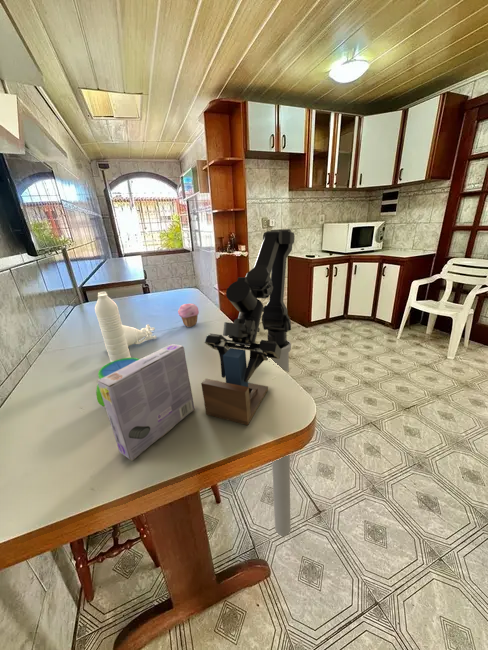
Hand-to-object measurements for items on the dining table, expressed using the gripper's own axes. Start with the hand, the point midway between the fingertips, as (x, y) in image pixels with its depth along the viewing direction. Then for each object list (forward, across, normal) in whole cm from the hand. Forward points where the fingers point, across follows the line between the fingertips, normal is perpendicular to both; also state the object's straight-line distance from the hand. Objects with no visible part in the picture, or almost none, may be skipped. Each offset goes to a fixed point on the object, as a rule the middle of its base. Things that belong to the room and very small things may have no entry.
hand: (233, 379), depth 64 cm
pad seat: (+4, 0, +6) cm, 8 cm away
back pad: (+4, 0, +6) cm, 7 cm away
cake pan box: (+14, -13, -4) cm, 20 cm away
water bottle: (+1, -46, +10) cm, 47 cm away
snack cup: (+11, -28, 0) cm, 30 cm away
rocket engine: (-8, -53, +18) cm, 56 cm away
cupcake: (-24, -43, +35) cm, 61 cm away
